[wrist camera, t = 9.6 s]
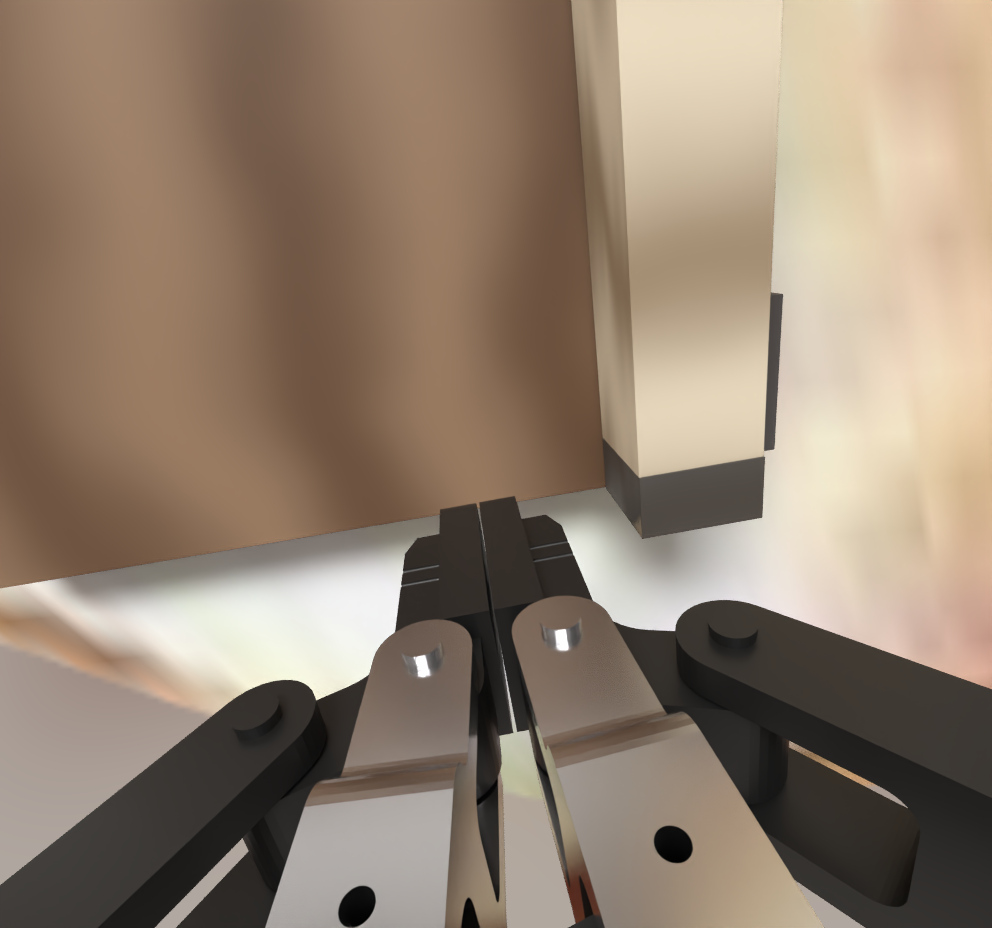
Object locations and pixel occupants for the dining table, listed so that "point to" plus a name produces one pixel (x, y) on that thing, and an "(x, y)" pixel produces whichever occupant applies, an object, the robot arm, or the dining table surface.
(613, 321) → the folding leg
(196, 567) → the dining table surface
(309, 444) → the walnut board
